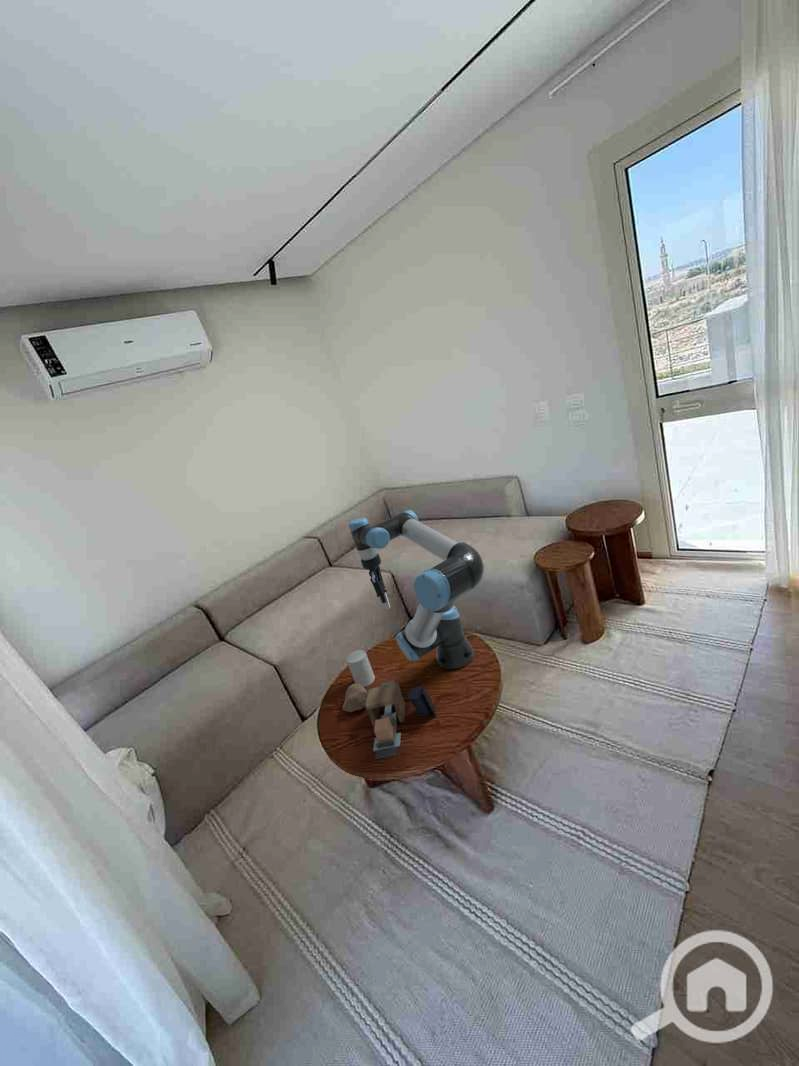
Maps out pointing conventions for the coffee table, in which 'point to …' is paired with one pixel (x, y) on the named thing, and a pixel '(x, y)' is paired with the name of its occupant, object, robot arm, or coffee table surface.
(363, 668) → the cup
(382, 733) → the block
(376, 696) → the tunnel
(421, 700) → the speaker
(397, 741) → the pad
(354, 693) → the stone
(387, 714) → the grey square dumbbell
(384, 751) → the pad
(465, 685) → the coffee table surface
